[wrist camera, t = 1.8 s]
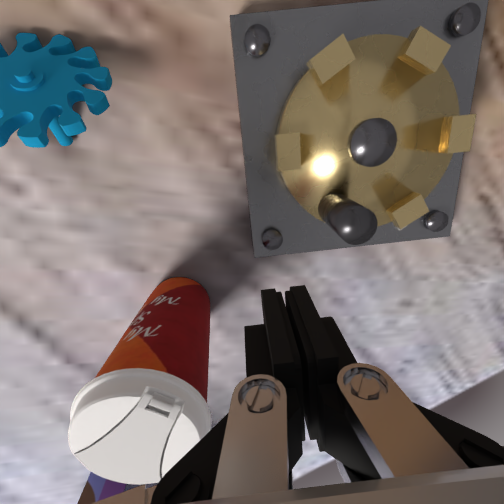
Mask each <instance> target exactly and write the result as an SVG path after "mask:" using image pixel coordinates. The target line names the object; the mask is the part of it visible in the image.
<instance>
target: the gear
mask: <svg viewBox="0 0 504 504" xmlns="http://www.w3.org/2000/svg"><path fill="white" fill-rule="evenodd" d="M16 40H17V47H16V49H15V50H14V51H13V52H12V53H11V54H10V55H9V56H8V54H7V52H6V51H5V49H4V48H3V46H2V45H1V43H0V147H2V146H4V145H5V144H6V143H7V142H8V139H9V137H10V136H11V135H12V134H13V132H15V131H16V130H17V129H19V130H18V132H17V135H18V137H19V138H20V139H21V140H22V141H23V143H24V144H25V145H26V146H29V147H46V146H47V144H48V142H49V139H48V137H47V128H48V126H49V128H50V129H51V131H52V132H53V134H54V135H55V137H56V138H57V140H58V141H59V143H60V144H61V145H63V146H68V145H70V144H72V142H73V139H72V137H71V136H73V135H77V134H80V133H82V132H85V131H86V126H85V124H84V122H83V120H82V118H81V116H80V115H79V114H78V113H76V112H74V111H73V108H72V106H73V104H74V103H75V102H78V101H85V102H86V104H87V106H88V108H89V110H90V112H91V113H93V114H95V115H99V114H101V113H103V112H104V111H105V110H106V109H107V108H108V107H109V103H108V100H107V98H106V95H105V94H104V93H103V92H101V91H98V90H91V89H87V88H85V87H83V86H82V85H84V84H92V85H94V86H95V87H96V88H97V89H99V90H102V91H107V90H109V89H110V88H111V85H112V78H111V75H110V72H109V69H108V68H106V67H100V64H99V61H98V58H97V56H96V53H95V51H94V50H93V48H92V47H84V48H81V49H80V50H78V51H76V50H75V48H74V46H73V43H72V41H71V40H70V39H69V38H67V37H65V36H63V35H60V34H58V35H55V36H54V37H53V38H52V39H51V41H50V43H49V44H48V45H46V46H45V47H42V45H41V43H40V41H39V39H38V38H37V36H36V34H32V33H18V34H17V35H16ZM83 68H84V69H83ZM59 115H60V116H59Z"/></svg>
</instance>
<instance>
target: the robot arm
mask: <svg viewBox="0 0 504 504" xmlns="http://www.w3.org/2000/svg"><path fill="white" fill-rule="evenodd" d="M261 298H262V308H263V318H264V324H261V325H252V326H245V327H244V328H245V352H246V375H247V378H245V379H244V380H242V381H241V382H239V384H238V385H237V386H236V387H235V389H234V392H233V394H232V399H231V404H230V409H229V413H228V414H227V415H226V416H225V417H224V418H223V419H222V420H221V421H220V422H219V423H218V424H217V425H216V426H215V427H214V428H212V429H211V430H210V431H209V432H208V433H207V434H206V435H205V436H204V437H203V438H202V439H201V440H200V441H199V442H198V443H197V444H196V445H195V446H194V447H193V448H192V449H191V450H190V451H189V452H188V453H186V454H185V455H184V456H183V457H182V458H181V459H180V460H179V461H178V462H177V463H176V464H175V465H174V466H173V467H172V468H171V469H170V470H169V471H168V472H167V473H166V474H165V475H164V476H163V478H162V479H161V480H160V481H159V482H158V484H157V485H155V486H153V487H150V488H146V485H145V484H144V485H141V486H138V487H136V488H133V489H130V490H127V491H125V492H122V493H119V494H116V495H114V496H111V497H108V498H105V499H103V500H100V501H97V502H94V503H92V504H504V446H500V445H499V444H498V443H497V442H495V441H493V440H491V439H490V438H488V437H486V436H484V435H482V434H480V433H478V432H476V431H474V430H472V429H469V428H467V427H465V426H463V425H461V424H459V423H456V422H454V421H452V420H450V419H448V418H446V417H444V416H441V415H439V414H437V413H435V412H433V411H431V410H428V409H426V408H424V407H422V406H420V405H418V404H416V403H413V402H412V401H411V400H410V399H409V398H408V397H407V396H406V395H405V393H404V392H403V391H402V390H401V389H400V388H399V386H398V385H397V384H396V383H395V382H394V381H393V380H392V378H391V377H390V376H389V375H388V374H386V373H385V372H384V371H383V370H381V369H379V368H377V367H375V366H372V365H369V364H363V363H357V361H356V359H355V358H354V356H353V354H352V352H351V350H350V348H349V347H348V345H347V343H346V341H345V339H344V337H343V336H342V334H341V332H340V330H339V328H338V326H337V325H336V323H335V321H334V319H333V318H332V317H323V318H320V316H319V314H318V312H317V310H316V308H315V306H314V304H313V301H312V299H311V297H310V295H309V293H308V291H307V289H306V287H305V285H302V286H293V287H290V291H285V301H286V307H285V303H284V300H283V297H282V293H281V292H276V290H275V289H266V290H261ZM304 417H305V421H306V425H307V429H308V433H309V437H310V440H315V439H317V443H318V447H319V451H320V452H322V451H325V452H327V453H328V454H330V455H331V456H332V457H334V458H335V459H337V465H338V469H339V472H340V474H341V476H342V478H343V480H344V483H342V484H334V485H325V486H317V487H309V488H301V489H293V477H292V469H293V467H294V466H295V464H296V463H297V461H298V460H299V459H300V457H301V456H302V454H303V451H302V441H305V423H304Z"/></svg>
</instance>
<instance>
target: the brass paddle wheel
mask: <svg viewBox="0 0 504 504" xmlns="http://www.w3.org/2000/svg"><path fill="white" fill-rule="evenodd" d="M450 47H451V45H450V44H448V43H446V42H445V41H443V40H442V39H440V38H439V37H437V36H436V35H434V34H433V33H431V32H430V31H428V30H427V29H425V28H423V27H422V26H419V27H417V28H415V29H414V30H412V31H411V32H410V34H409V36H408V38H405V37H402V36H397V35H390V34H374V35H369V36H363V37H360V38H357V39H354V40H351V41H348V42H347V40H346V38H345V36H344V34H342V35H341V36H339V37H338V38H337V39H335V40H334V41H333V42H332V43H330V44H329V45H328V46H327V47H325V48H324V49H323V50H322V51H320V52H319V53H318V54H317V55H315V56H314V57H313V58H311V59H310V60H309V61H308V62H307V63H306V64H307V66H308V68H309V70H308V71H306V72H305V74H304V75H303V76H302V77H301V78H300V79H299V80H298V82H297V83H296V85H295V86H294V88H293V89H292V90H291V92H290V94H289V96H288V98H287V100H286V102H285V104H284V106H283V109H282V111H281V114H280V118H279V122H278V126H277V132H276V135H274V138H275V154H276V170H277V171H278V172H279V171H280V174H281V177H282V179H283V182H284V184H285V185H286V187H287V189H288V191H289V192H290V193H291V195H292V196H293V197H294V198H295V200H296V201H297V202H298V203H299V204H300V205H301V206H302V207H303V208H304V209H305V210H306V211H307V212H308V213H310V214H311V215H312V216H314V217H315V218H317V219H319V220H320V221H322V222H324V223H326V224H327V225H328V226H329V227H330V228H331V229H332V230H333V231H334V232H335V233H337V234H338V235H339V236H340V237H341V238H342V239H343V240H344V241H345V242H346V243H348V244H351V245H360V244H363V243H365V242H367V241H368V240H370V239H371V238H372V237H373V235H374V234H375V232H376V230H377V227H378V226H381V225H385V224H387V223H390V222H393V224H394V226H396V227H398V228H399V229H402V228H404V227H405V226H407V225H408V224H410V223H412V222H413V221H415V220H416V219H418V218H420V217H421V216H423V215H424V214H426V213H427V212H429V209H428V207H427V205H426V203H425V201H424V199H425V198H426V197H427V196H428V195H429V194H430V193H431V192H432V191H433V189H434V188H435V187H436V185H437V184H438V183H439V181H440V180H441V178H442V176H443V175H444V173H445V171H446V170H447V167H448V165H449V163H450V161H451V159H452V156H453V153H458V152H467V151H470V147H471V141H472V136H473V130H474V124H475V118H476V114H469V115H459V103H458V97H457V93H456V89H455V86H454V83H453V81H452V79H451V77H450V74H449V72H448V71H447V69H446V68H445V66H444V65H443V63H442V60H443V59H444V57H445V55H446V54H447V52H448V50H449V48H450Z"/></svg>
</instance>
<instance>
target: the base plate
mask: <svg viewBox="0 0 504 504" xmlns="http://www.w3.org/2000/svg"><path fill="white" fill-rule="evenodd" d="M487 6H488V0H378V1H368V2H358V3H348V4H338V5H327V6H317V7H307V8H297V9H287V10H277V11H267V12H257V13H247V14H237V15H230V28H231V38H232V48H233V57H234V67H235V77H236V87H237V96H238V106H239V116H240V125H241V135H242V145H243V155H244V164H245V174H246V184H247V194H248V203H249V213H250V223H251V232H252V242H253V251H254V257H255V258H257V257H266V256H275V255H284V254H293V253H302V252H311V251H320V250H329V249H338V248H347V247H356V246H365V245H374V244H383V243H392V242H402V241H411V240H420V239H429V238H438V237H447V236H450V232H451V226H452V220H453V214H454V208H455V201H456V195H457V189H458V183H459V177H460V171H461V165H462V159H463V153H464V152H458V153H453V156H452V159H451V161H450V163H449V165H448V167H447V170H446V171H445V173H444V175H443V176H442V178H441V180H440V181H439V183H438V184H437V185H436V187H435V188H434V189H433V191H432V192H431V193H430V194H429V195H428V196H427V197H426V198H425V199H424V201H425V203H426V205H427V207H428V209H429V212H427V213H426V214H424V215H423V216H421V217H420V218H418V219H416V220H415V221H413V222H412V223H410V224H408V225H407V226H405V227H404V228H402V229H399V228H398V227H396V226H394V224H393V222H390V223H387V224H385V225H381V226H378V227H377V230H376V232H375V234H374V235H373V237H372V238H371V239H370V240H368V241H367V242H365V243H363V244H360V245H351V244H348V243H346V242H345V241H344V240H343V239H342V238H341V237H340V236H339V235H338V234H337V233H335V232H334V231H333V230H332V229H331V228H330V227H329V226H328V225H327V224H326V223H324V222H322V221H320V220H319V219H317V218H315V217H314V216H312V215H311V214H310V213H308V212H307V211H306V210H305V209H304V208H303V207H302V206H301V205H300V204H299V203H298V202H297V201H296V200H295V198H294V197H293V196H292V195H291V193H290V192H289V191H288V189H287V187H286V185H285V184H284V182H283V179H282V177H281V174H280V171H279V172H278V171H277V170H276V154H275V138H274V135H276V132H277V126H278V122H279V118H280V114H281V111H282V109H283V106H284V104H285V102H286V100H287V98H288V96H289V94H290V92H291V90H292V89H293V88H294V86H295V85H296V83H297V82H298V80H299V79H300V78H301V77H302V76H303V75H304V74H305V72H306V71H308V70H309V68H308V66H307V64H306V63H307V62H308V61H309V60H310V59H311V58H313V57H314V56H315V55H317V54H318V53H319V52H320V51H322V50H323V49H324V48H325V47H327V46H328V45H329V44H330V43H332V42H333V41H334V40H335V39H337V38H338V37H339V36H341V35H342V34H344V36H345V38H346V40H347V42H348V41H351V40H354V39H357V38H360V37H363V36H369V35H374V34H390V35H397V36H402V37H405V38H408V36H409V34H410V32H411V31H412V30H414V29H415V28H417V27H419V26H422V27H423V28H425V29H427V30H428V31H430V32H431V33H433V34H434V35H436V36H437V37H439V38H440V39H442V40H443V41H445V42H446V43H448V44H450V45H451V47H450V48H449V50H448V52H447V54H446V55H445V57H444V59H443V60H442V63H443V65H444V66H445V68H446V69H447V71H448V72H449V74H450V77H451V79H452V81H453V83H454V86H455V89H456V93H457V97H458V103H459V115H469V114H470V110H471V104H472V98H473V91H474V85H475V79H476V73H477V67H478V61H479V55H480V49H481V43H482V36H483V30H484V24H485V18H486V12H487Z"/></svg>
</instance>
